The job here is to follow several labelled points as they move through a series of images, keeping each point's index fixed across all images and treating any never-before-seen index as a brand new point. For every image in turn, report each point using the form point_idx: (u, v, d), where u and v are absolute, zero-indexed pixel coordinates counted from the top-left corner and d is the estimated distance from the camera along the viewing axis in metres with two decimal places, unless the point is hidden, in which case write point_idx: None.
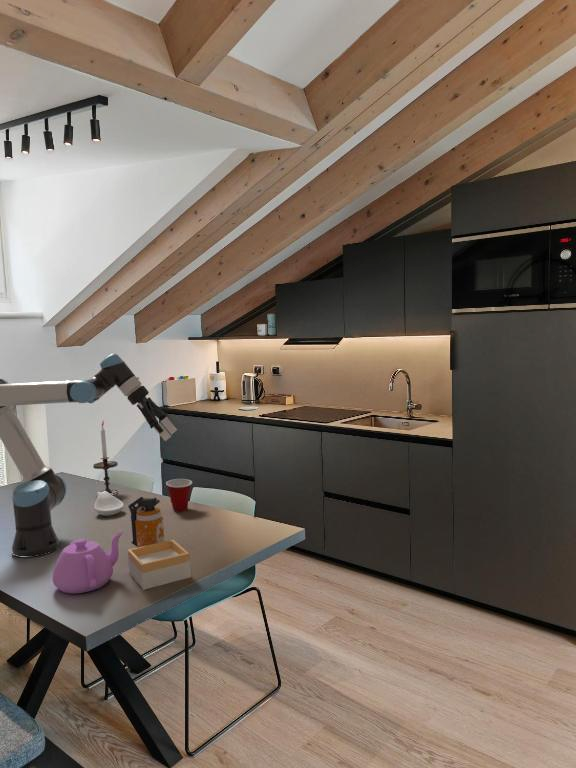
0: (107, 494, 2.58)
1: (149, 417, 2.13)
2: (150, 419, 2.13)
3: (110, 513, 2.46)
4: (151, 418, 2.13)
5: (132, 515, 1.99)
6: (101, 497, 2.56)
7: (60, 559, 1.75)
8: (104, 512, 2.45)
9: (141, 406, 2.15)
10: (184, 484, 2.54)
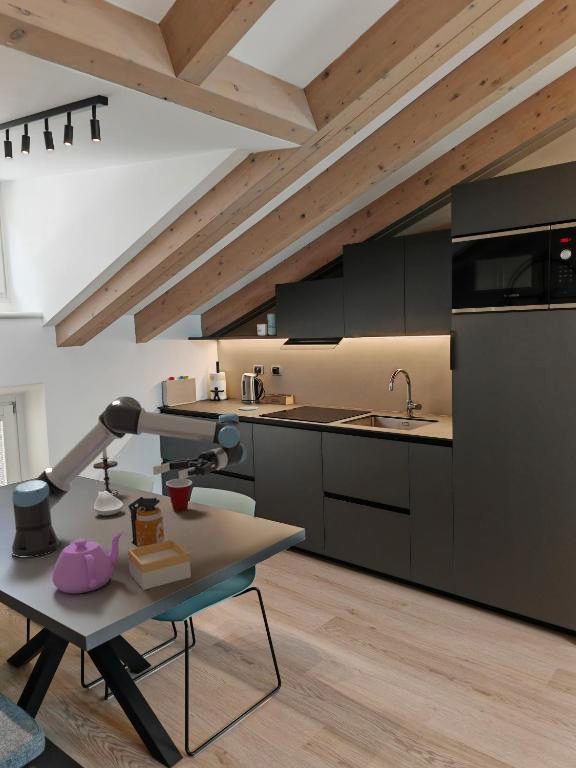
0: (107, 494, 2.58)
1: (206, 470, 2.07)
2: (205, 470, 2.07)
3: (109, 513, 2.46)
4: (205, 472, 2.07)
5: (132, 515, 1.99)
6: (101, 497, 2.56)
7: (60, 559, 1.75)
8: (103, 512, 2.45)
9: (212, 466, 2.12)
10: (184, 484, 2.54)
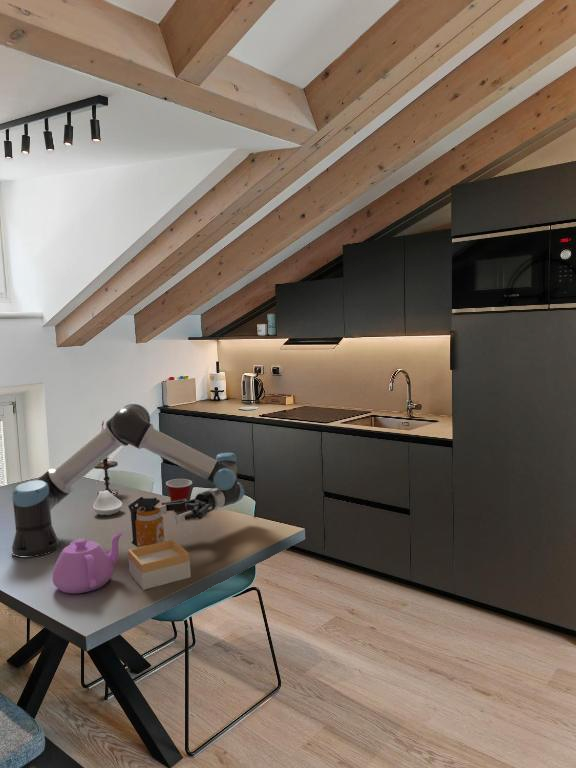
0: (108, 493, 2.59)
1: (203, 513, 2.06)
2: (202, 514, 2.05)
3: (107, 513, 2.46)
4: (202, 515, 2.06)
5: (132, 515, 1.99)
6: (102, 496, 2.57)
7: (60, 559, 1.75)
8: (101, 512, 2.45)
9: (209, 508, 2.11)
10: (184, 484, 2.54)
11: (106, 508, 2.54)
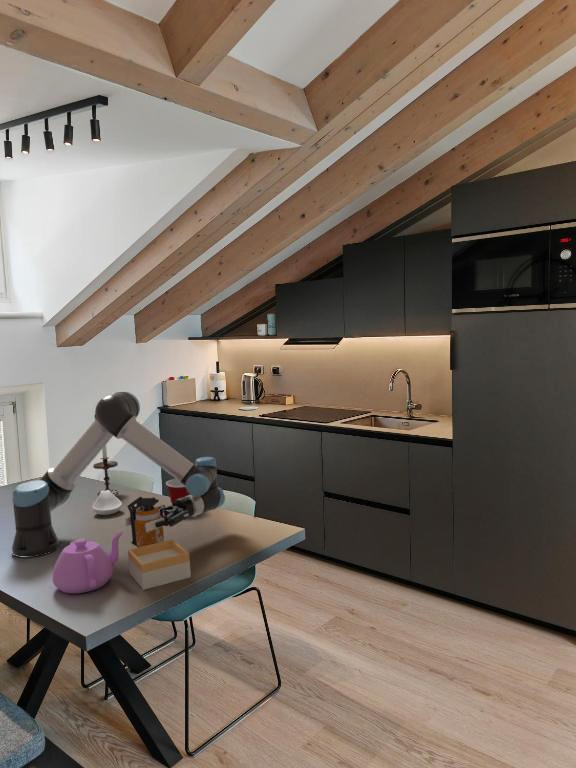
0: (109, 493, 2.59)
1: (176, 520, 1.99)
2: (174, 521, 1.98)
3: (106, 513, 2.46)
4: (175, 523, 1.98)
5: (131, 515, 1.99)
6: (102, 496, 2.58)
7: (60, 559, 1.75)
8: (100, 512, 2.46)
9: (185, 515, 2.04)
10: None
11: (106, 508, 2.54)
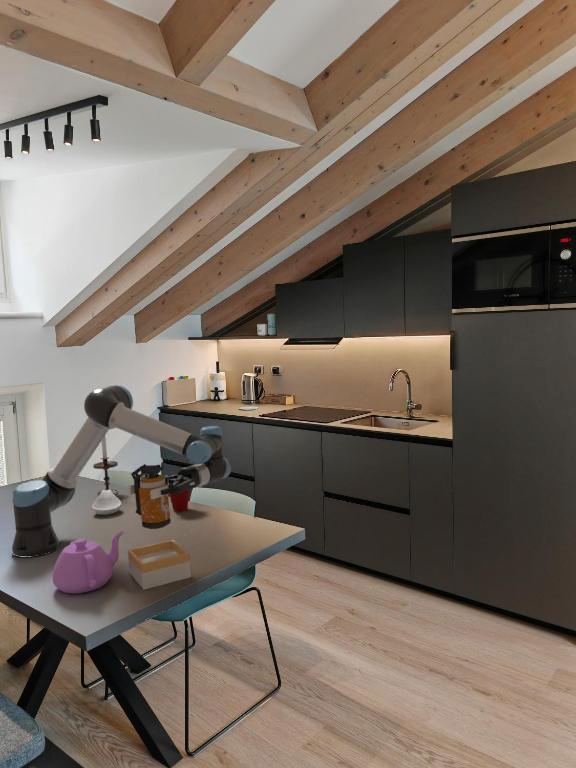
0: (109, 493, 2.60)
1: (182, 488, 1.92)
2: (180, 489, 1.91)
3: (105, 513, 2.47)
4: (181, 490, 1.91)
5: (135, 483, 1.92)
6: (103, 496, 2.58)
7: (60, 559, 1.75)
8: (99, 511, 2.46)
9: (191, 484, 1.96)
10: None
11: (106, 507, 2.55)
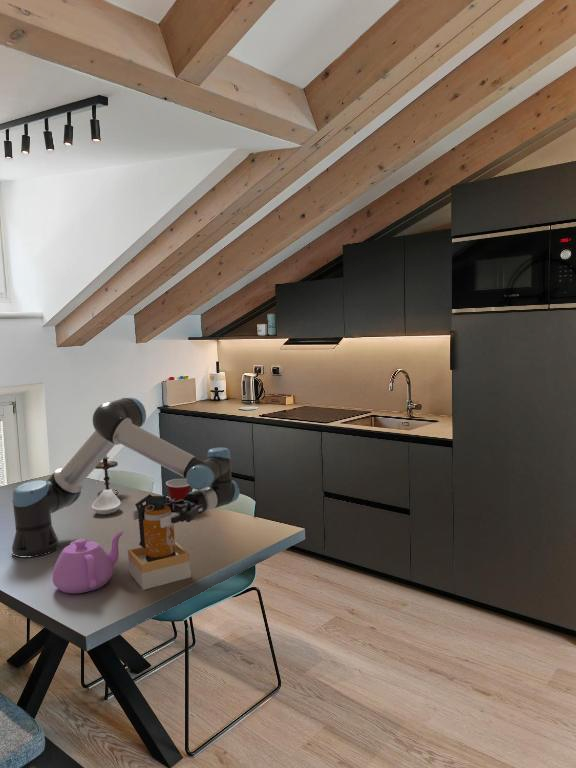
0: (110, 492, 2.61)
1: (192, 515, 1.82)
2: (191, 516, 1.81)
3: (103, 512, 2.47)
4: (191, 518, 1.82)
5: (140, 514, 1.83)
6: (104, 495, 2.59)
7: (60, 559, 1.75)
8: (97, 511, 2.47)
9: (199, 510, 1.87)
10: (184, 484, 2.54)
11: (106, 507, 2.56)
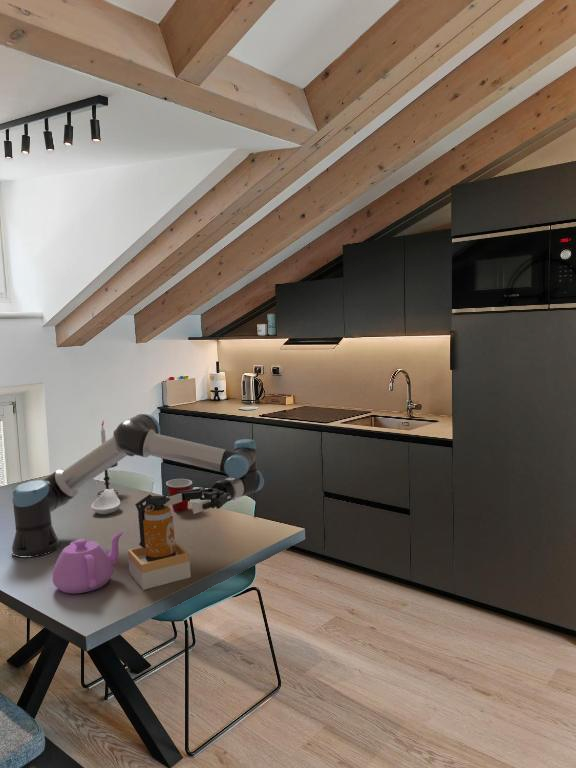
0: (111, 492, 2.61)
1: (222, 502, 1.93)
2: (221, 503, 1.92)
3: (102, 512, 2.48)
4: (221, 504, 1.92)
5: (140, 514, 1.83)
6: (105, 495, 2.60)
7: (60, 559, 1.75)
8: (96, 510, 2.48)
9: (228, 497, 1.98)
10: (184, 484, 2.54)
11: (106, 507, 2.56)
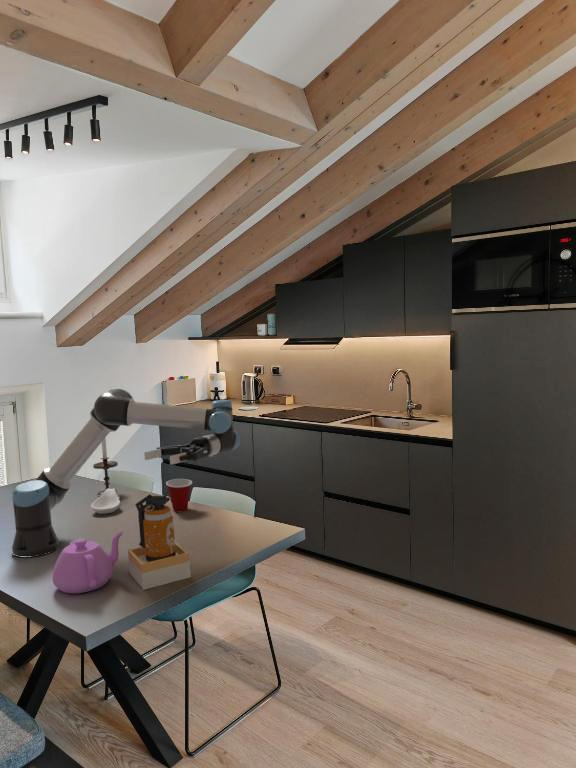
0: (112, 492, 2.61)
1: (198, 455, 2.04)
2: (197, 456, 2.03)
3: (101, 512, 2.48)
4: (197, 457, 2.03)
5: (140, 514, 1.83)
6: (106, 494, 2.60)
7: (60, 559, 1.75)
8: (95, 510, 2.48)
9: (204, 451, 2.09)
10: (184, 484, 2.54)
11: (107, 506, 2.57)
